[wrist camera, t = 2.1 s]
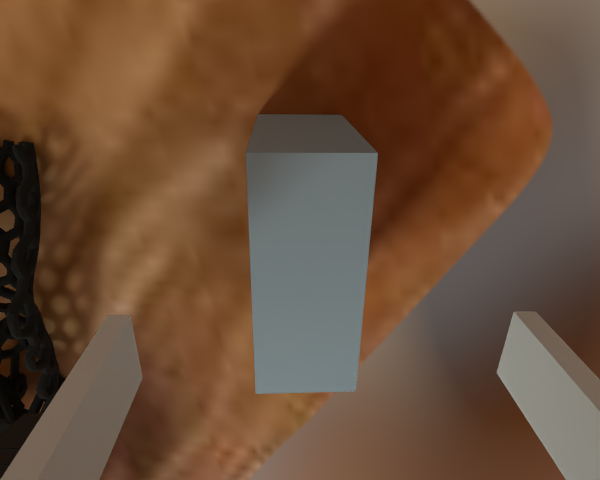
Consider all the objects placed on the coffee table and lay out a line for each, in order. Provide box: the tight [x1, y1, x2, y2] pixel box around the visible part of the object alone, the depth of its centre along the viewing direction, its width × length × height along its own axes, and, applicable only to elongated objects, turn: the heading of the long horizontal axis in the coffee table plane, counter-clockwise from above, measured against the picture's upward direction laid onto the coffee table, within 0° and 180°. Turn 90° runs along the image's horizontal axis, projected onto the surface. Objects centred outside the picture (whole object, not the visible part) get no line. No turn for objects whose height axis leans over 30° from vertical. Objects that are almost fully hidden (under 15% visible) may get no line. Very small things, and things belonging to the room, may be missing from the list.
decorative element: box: [0, 140, 66, 436], centre depth 27 cm, size 22×5×6 cm, turn 171°
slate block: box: [246, 114, 378, 394], centre depth 23 cm, size 12×5×10 cm, turn 179°
